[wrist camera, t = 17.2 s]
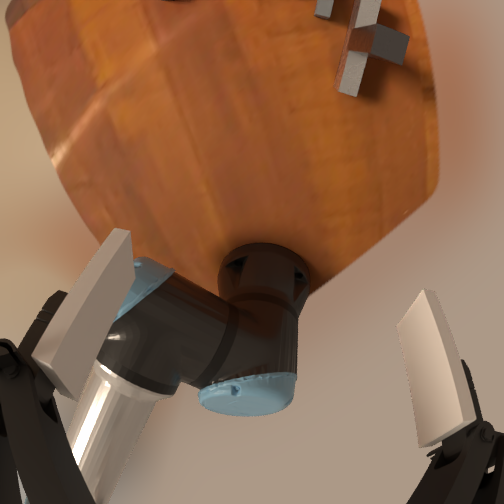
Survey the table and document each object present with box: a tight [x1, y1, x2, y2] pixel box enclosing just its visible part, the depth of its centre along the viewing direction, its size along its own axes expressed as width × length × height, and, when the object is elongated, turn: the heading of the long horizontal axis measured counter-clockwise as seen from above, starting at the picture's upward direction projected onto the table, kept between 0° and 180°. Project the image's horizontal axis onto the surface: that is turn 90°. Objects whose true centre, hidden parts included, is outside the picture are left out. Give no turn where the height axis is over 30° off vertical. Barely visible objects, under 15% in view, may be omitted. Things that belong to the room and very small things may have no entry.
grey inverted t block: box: [334, 0, 410, 97], centre depth 21 cm, size 12×2×14 cm, turn 171°
